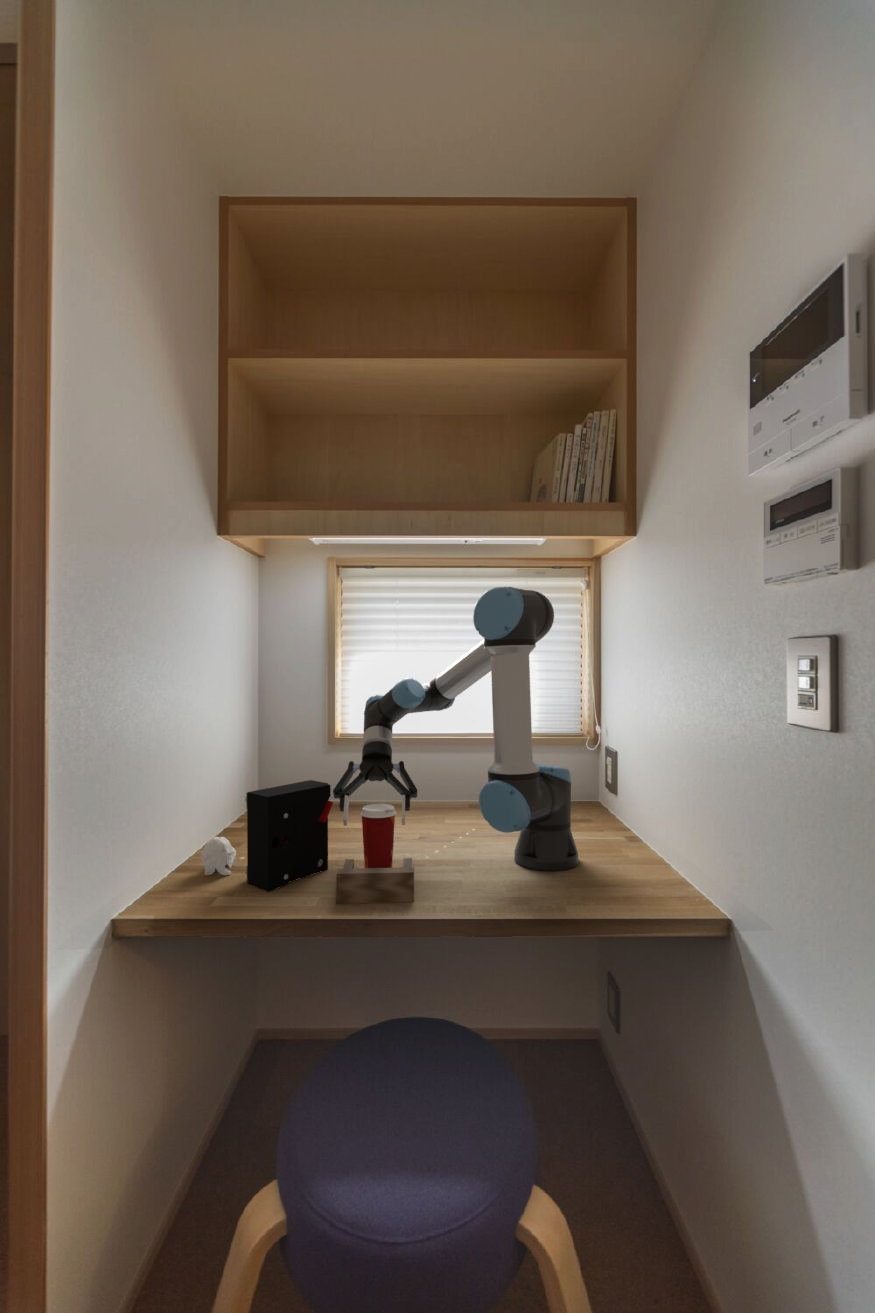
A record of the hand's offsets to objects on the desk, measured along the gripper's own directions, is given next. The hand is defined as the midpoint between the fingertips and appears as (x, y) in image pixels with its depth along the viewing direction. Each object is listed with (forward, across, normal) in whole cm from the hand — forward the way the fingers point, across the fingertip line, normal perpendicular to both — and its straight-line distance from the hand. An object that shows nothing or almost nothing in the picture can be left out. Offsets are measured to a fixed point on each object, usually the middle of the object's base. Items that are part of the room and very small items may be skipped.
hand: (374, 822), depth 153 cm
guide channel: (+14, -1, 0) cm, 14 cm away
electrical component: (+11, +19, -4) cm, 22 cm away
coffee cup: (+10, -1, -5) cm, 11 cm away
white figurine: (+8, +35, -8) cm, 37 cm away
